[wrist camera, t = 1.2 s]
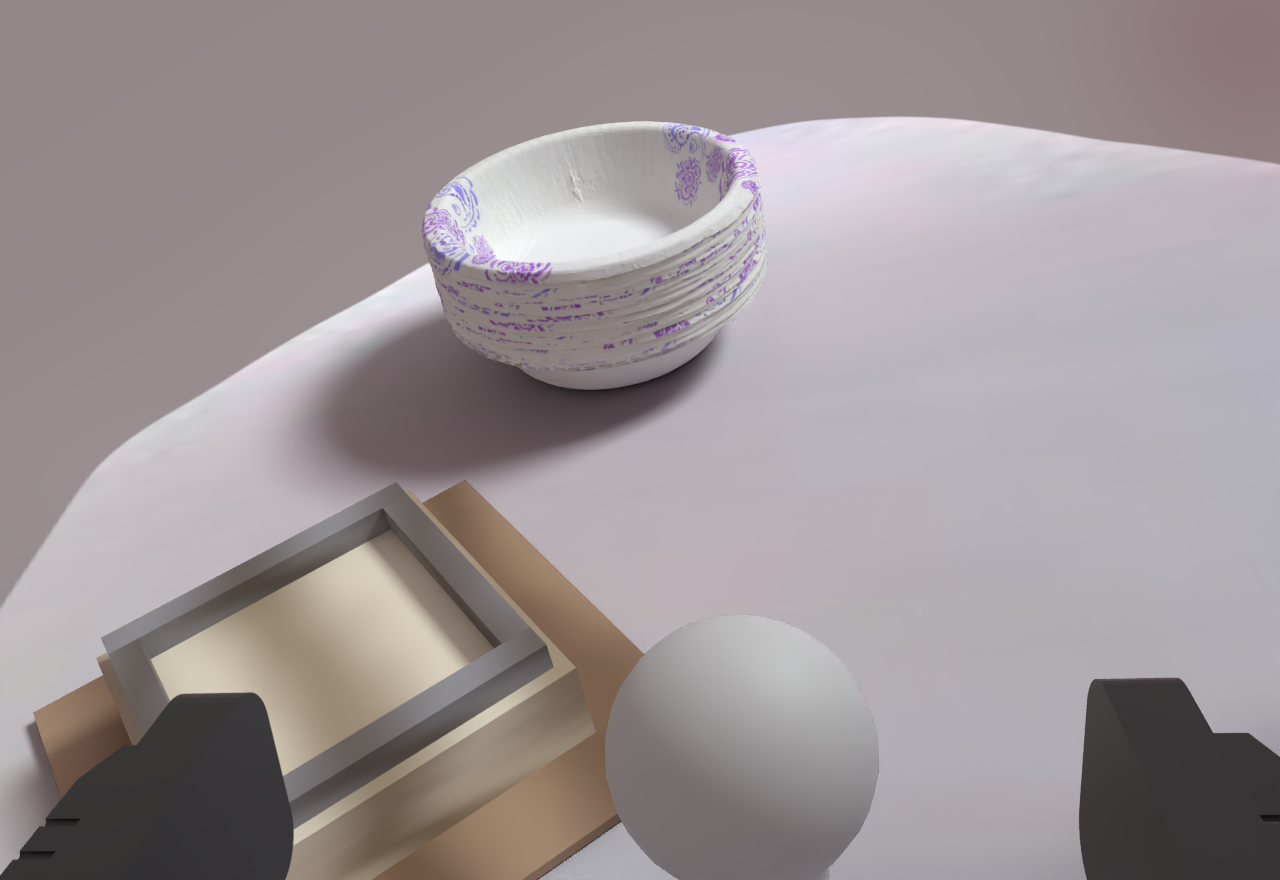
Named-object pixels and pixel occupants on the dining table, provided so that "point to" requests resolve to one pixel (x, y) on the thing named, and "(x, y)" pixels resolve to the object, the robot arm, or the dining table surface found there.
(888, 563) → the dining table surface
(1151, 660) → the dining table surface
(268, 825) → the robot arm
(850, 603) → the dining table surface
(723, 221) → the paper bowls
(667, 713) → the lightbulb
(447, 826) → the square tan tray
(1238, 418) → the dining table surface
